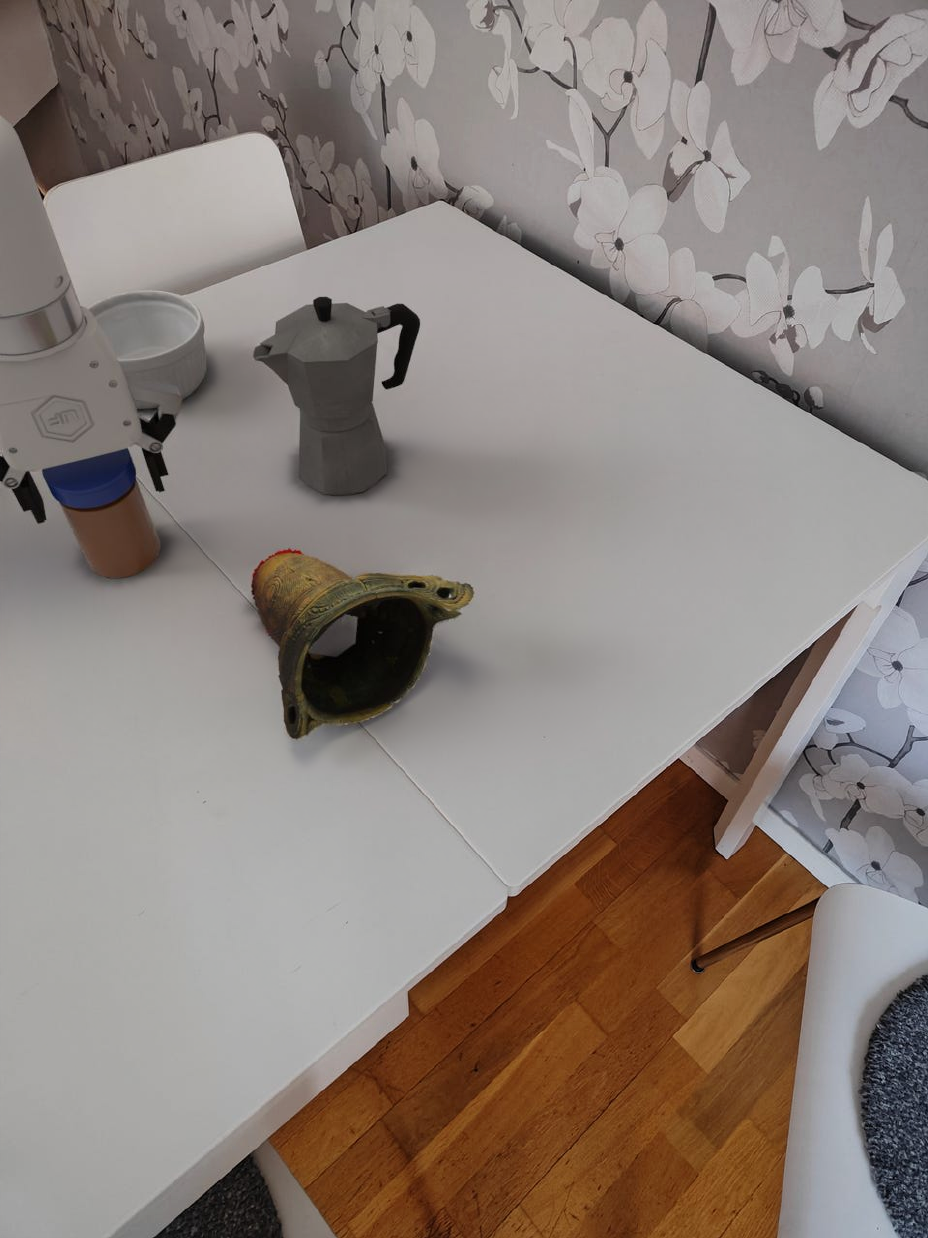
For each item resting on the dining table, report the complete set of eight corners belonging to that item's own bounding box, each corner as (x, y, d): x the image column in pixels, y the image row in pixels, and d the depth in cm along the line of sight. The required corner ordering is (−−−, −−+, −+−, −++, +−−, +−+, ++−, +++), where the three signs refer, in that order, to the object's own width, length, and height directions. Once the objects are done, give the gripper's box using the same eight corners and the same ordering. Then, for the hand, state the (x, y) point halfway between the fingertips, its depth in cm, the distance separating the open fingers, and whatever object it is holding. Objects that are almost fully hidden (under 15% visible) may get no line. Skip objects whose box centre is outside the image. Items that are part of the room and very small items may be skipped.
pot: (329, 464, 73) (444, 537, 59) (395, 553, 80) (510, 635, 67) (171, 605, 70) (255, 713, 57) (255, 683, 77) (346, 795, 64)
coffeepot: (297, 516, 81) (265, 349, 68) (263, 457, 87) (227, 291, 73) (444, 466, 86) (442, 300, 72) (403, 413, 91) (394, 249, 77)
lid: (39, 470, 72) (31, 453, 71) (119, 442, 75) (113, 424, 73) (64, 520, 69) (56, 502, 67) (148, 488, 71) (142, 470, 70)
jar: (83, 581, 76) (43, 500, 69) (92, 530, 80) (55, 448, 73) (157, 574, 77) (126, 493, 69) (163, 523, 81) (133, 442, 73)
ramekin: (239, 363, 97) (227, 306, 91) (166, 431, 89) (148, 373, 84) (143, 334, 100) (125, 278, 95) (65, 397, 93) (41, 340, 87)
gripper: (-113, 370, 56) (-5, 555, 69) (159, 314, 60) (212, 497, 73) (-115, 311, 60) (-12, 495, 73) (140, 262, 64) (193, 444, 78)
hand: (100, 496), depth 73 cm, fingers open, 9 cm apart
